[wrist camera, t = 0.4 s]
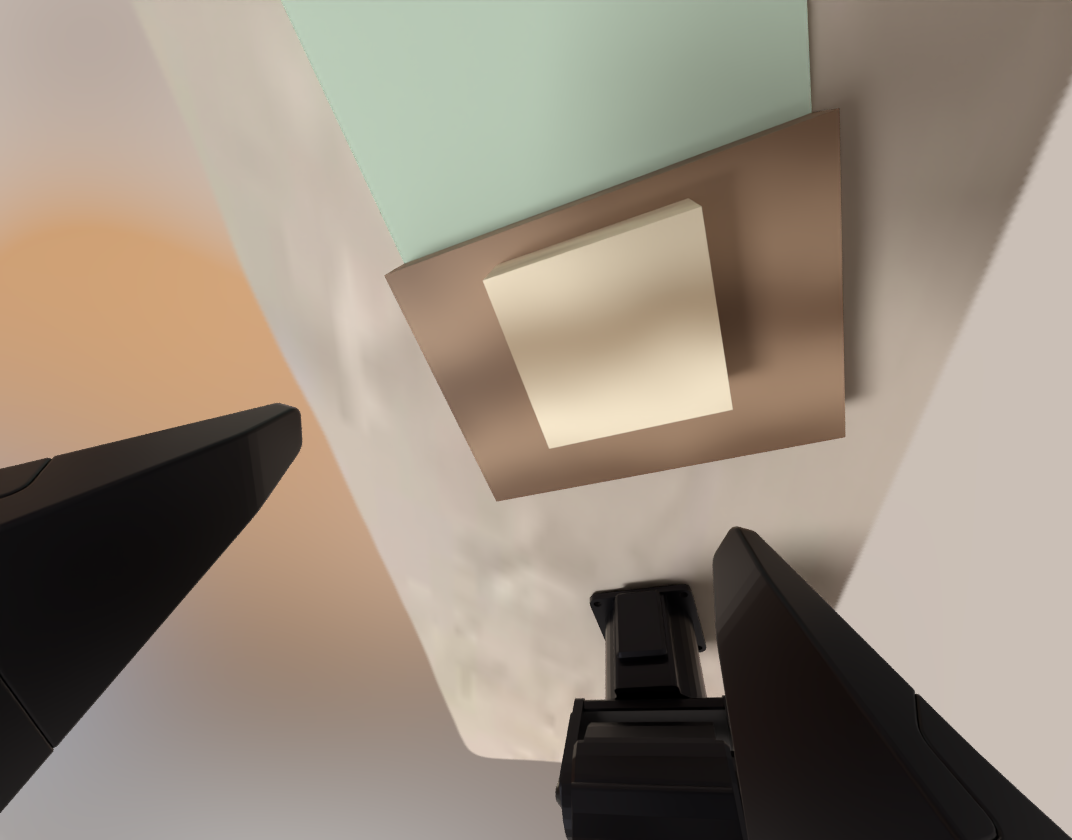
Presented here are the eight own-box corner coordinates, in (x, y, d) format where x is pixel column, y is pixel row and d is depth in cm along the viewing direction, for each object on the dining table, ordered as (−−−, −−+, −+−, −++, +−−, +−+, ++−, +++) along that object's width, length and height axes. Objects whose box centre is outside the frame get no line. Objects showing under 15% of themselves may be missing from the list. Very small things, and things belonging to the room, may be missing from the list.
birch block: (718, 380, 18) (732, 409, 16) (554, 418, 20) (549, 448, 18) (688, 198, 15) (701, 206, 13) (497, 264, 17) (482, 280, 15)
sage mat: (807, 113, 15) (811, 112, 15) (407, 261, 20) (404, 263, 19) (784, -360, 11) (790, -376, 10) (273, -29, 15) (265, -33, 15)
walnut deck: (820, 407, 21) (845, 437, 19) (505, 471, 25) (496, 501, 23) (807, 113, 15) (839, 108, 13) (407, 261, 20) (384, 275, 18)
